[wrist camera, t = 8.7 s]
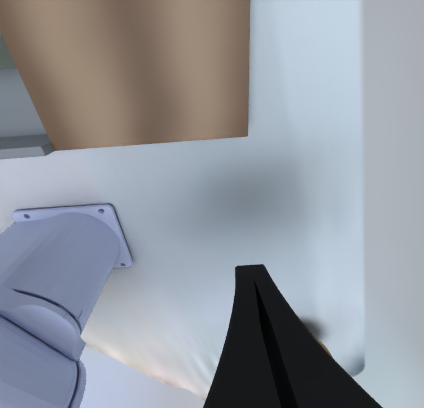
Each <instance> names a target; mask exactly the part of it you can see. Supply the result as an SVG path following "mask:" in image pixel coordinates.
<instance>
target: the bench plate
mask: <svg viewBox="0 0 424 408" xmlns="http://www.w3.org/2000/svg"><path fill="white" fill-rule="evenodd" d="M0 32H1V34H2V37H3V39H4V41H5V43H6V45H7V48H8V50H9V52H10V54H11V56H12V59H13V61H14V63H15V65H16V67H17V69H18V72H19V74H20V76H21V78H22V80H23V83H24V85H25V87H26V89H27V91H28V94H29V96H30V98H31V100H32V102H33V105H34V107H35V109H36V111H37V113H38V115H39V118H40V120H41V122H42V124H43V126H44V129H45V131H46V133H47V135H48V137H49V140H50V142H51V144H52V146H53V148H54V151H59V150H72V149H86V148H99V147H112V146H126V145H139V144H152V143H166V142H179V141H193V140H206V139H219V138H233V137H246V136H248V95H249V35H250V0H0Z"/></svg>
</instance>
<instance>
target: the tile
mask: <svg viewBox="0 0 424 408" xmlns="http://www.w3.org/2000/svg"><path fill="white" fill-rule="evenodd" d="M6 68H17V67H16V65H15V63H14V61H13V59H12V56H11V54H10V52H9V50H8V48H7V45H6V43H5V41H4V39H3V37H2V34H1V32H0V69H6Z"/></svg>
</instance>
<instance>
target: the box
mask: <svg viewBox="0 0 424 408" xmlns="http://www.w3.org/2000/svg"><path fill="white" fill-rule="evenodd" d="M53 151H54V148H53V146H52V144H51V142H50V140H49V137H48V135H47V133H46V131H45V129H44V126H43V124H42V122H41V120H40V118H39V115H38V113H37V111H36V109H35V107H34V105H33V102H32V100H31V98H30V96H29V94H28V91H27V89H26V87H25V85H24V83H23V80H22V78H21V76H20V74H19V72H18V69H17V68H6V69H0V159H10V158H23V157H37V156H46V155H48V154H50V153H52V152H53Z"/></svg>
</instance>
